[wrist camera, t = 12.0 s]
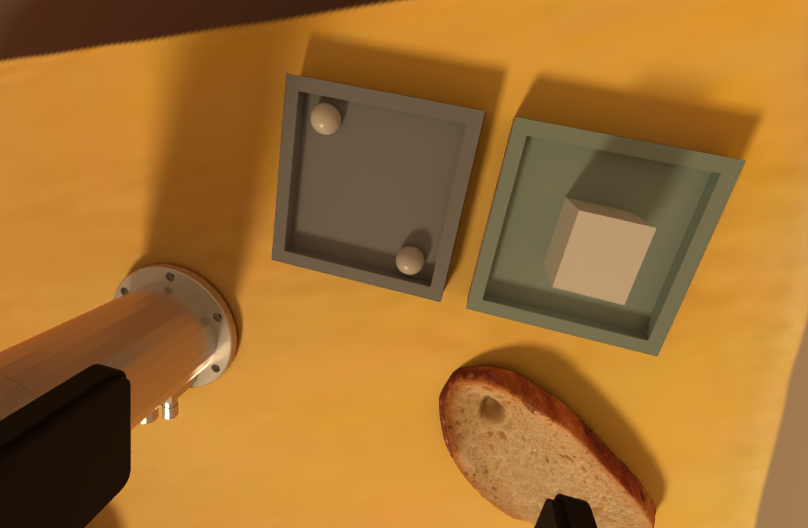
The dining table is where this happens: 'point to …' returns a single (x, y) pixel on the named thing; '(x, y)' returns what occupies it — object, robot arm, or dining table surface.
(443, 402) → the bread slice
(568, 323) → the bin
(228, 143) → the dining table surface
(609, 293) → the beige block
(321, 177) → the bin
